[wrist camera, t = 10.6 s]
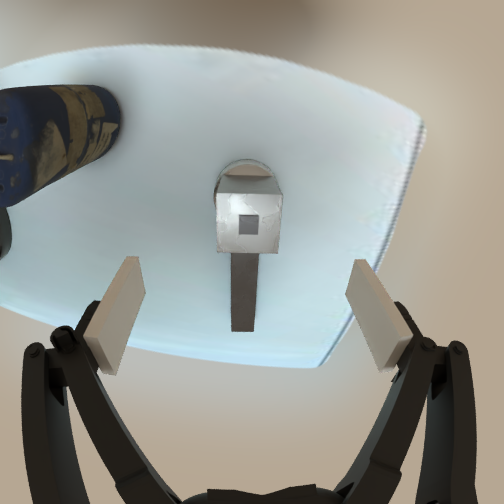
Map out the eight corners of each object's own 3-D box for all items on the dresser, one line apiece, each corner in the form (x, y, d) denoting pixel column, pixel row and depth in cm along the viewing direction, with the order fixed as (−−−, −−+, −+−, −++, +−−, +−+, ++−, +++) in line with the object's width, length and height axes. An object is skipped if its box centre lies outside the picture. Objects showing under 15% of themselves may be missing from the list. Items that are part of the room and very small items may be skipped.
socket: (222, 221, 30) (216, 253, 24) (222, 174, 28) (216, 193, 21) (270, 223, 30) (278, 254, 24) (273, 176, 28) (283, 195, 22)
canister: (106, 172, 30) (11, 241, 14) (52, 143, 27) (-50, 191, 11) (138, 101, 26) (35, 111, 10) (79, 75, 23) (-33, 80, 7)
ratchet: (219, 317, 42) (216, 354, 35) (216, 158, 30) (209, 174, 24) (265, 318, 42) (269, 354, 36) (278, 160, 30) (288, 176, 24)
